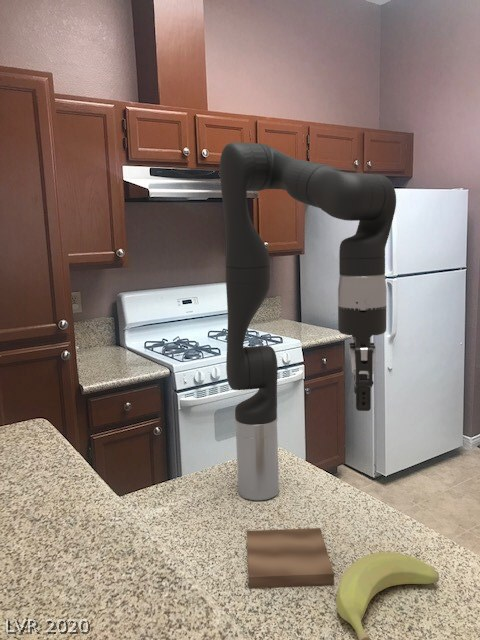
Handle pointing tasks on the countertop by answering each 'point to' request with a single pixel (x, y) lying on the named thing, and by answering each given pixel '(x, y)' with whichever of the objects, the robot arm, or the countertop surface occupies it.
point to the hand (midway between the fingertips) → (362, 401)
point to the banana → (377, 582)
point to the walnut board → (288, 558)
